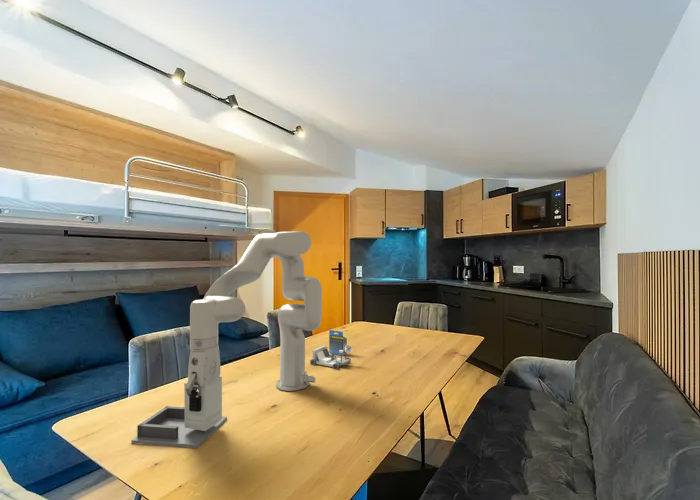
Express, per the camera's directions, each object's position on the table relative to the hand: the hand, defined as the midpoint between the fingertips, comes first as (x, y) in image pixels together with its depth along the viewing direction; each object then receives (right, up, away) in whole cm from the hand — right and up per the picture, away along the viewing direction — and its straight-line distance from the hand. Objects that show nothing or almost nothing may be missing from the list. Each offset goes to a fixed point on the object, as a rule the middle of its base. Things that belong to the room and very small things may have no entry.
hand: (203, 403), depth 99 cm
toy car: (+34, -10, +62) cm, 72 cm away
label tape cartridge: (+36, -10, +79) cm, 87 cm away
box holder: (-6, -8, 0) cm, 10 cm away
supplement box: (0, -6, 0) cm, 6 cm away
